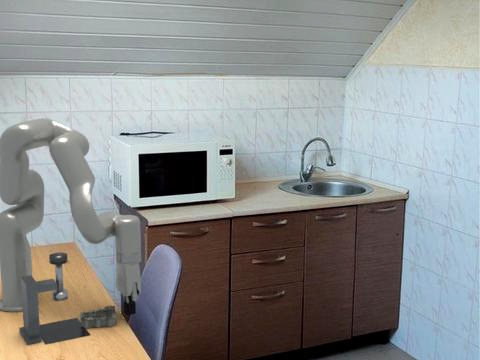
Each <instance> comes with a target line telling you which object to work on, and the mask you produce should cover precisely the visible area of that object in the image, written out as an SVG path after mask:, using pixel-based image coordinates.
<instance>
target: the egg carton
mask: <svg viewBox="0 0 480 360" xmlns="http://www.w3.org/2000/svg"><path fill="white" fill-rule="evenodd" d="M79 315H80V316H79V318H80V322H81V327H84V328H86V329H89V328H91V327H96V328H98V329H99V328H101V327H103V326H107V327H109V328H110V327H113V326H115V325H116V324H117V312H116V306H115V305H107V306H104V308H99V309H95V310H94V309H93V310H89V311H80V314H79Z"/></svg>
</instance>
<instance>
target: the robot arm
mask: <svg viewBox="0 0 480 360" xmlns="http://www.w3.org/2000/svg"><path fill="white" fill-rule="evenodd" d="M42 147H48V150H49V151H48V152H49V154H50V157H51V159H52V160H53V163H54V164H55V167H56V169H57V170H58V172H59V174H60V176H61V177H62V179H63V181H64V183H65V185H66V188H67V189H68V193H69V196H68V198H69V207H70V212H71V216H72V218H73V219H72V220H73V221H74V224H75V225H76V227H77V230H78V231H79V233H80V235H81V236H82V237H83V238H84V240H85V241H87V242H88V243H89V244H93V245H99V244H101V243H103V242H105V241H107V240H108V239H110V238H112V237H114V244H115V247H114V248H115V263H116V266H115V287H116V289H117V291H118V292H120V294H122V297H123V298H122V300H123V314H124V315H125V316H131V315H135V314H137V313H136V312H137V311H136V308H137V307H136V306H137V305H136V301H138V296H139V295H141V293H142V292H141V291H142V283H141V282H142V281H141V270H140V269H141V268H140V263H141V262H142V246H141V245H142V243H141V239H142V238H141V220H140V218H139V217H138V216H137V215H133V214H120V213H119V214H118V213H116V212H110V211H104V212H102V213H100V214H97V212H96V210H95V208H94V204H93V200H92V198H93V197H92V194H93V189H94V187H95V181H96V177H95V175H94V173H93V170H92V169H91V168H90V165H89V164H88V161H87V160H86V158H85V156H87V154H88V153H89V150H90V142H89V140H88V139H87V137H86V136H85V135H84V134H83V133H81V131H78V130H76V129H74V128H71V127H68V126H67V125H65V124H62V123H59V122H57V121H55V120H53V119H50V118H44V117H43V118H38V119H37V118H36V119H32V120H27V121H21V122H18V123H15V124H13V125H11V126H9V127H7V128H6V129H5V130H4V131H3V132H2V133H1V134H0V199H1V201H2V202H3V203H4V204H6V205H9V206H11V207H9V208H7V209H5V210H3V211H1V212H0V283H1V284H0V285H1V297H2V298H0V310H1V311H2V312H3V311H4V312H9V313H10V312H11V313H12V312H15V313H16V312H23V307H22V290H21V277H24V276H31V275H32V277H33V278H34V275H33V262H32V261H33V259H32V248H31V245H30V242H29V240H28V237H27V235H28V234H30V233H31V232H33V231H35V230H36V229H38V228H39V227H40V226H41V225H42V223H43V221H44V215H45V212H44V211H45V184H44V183H45V182H44V179H43V177H42V176H41V174H40V173H38V171H36V170H34V169H30V160H29V156H28V152H27V151H30V150H34V149H38V148H42ZM39 303H40V298H39V297H38V304H39Z"/></svg>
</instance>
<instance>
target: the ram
mask: <svg viewBox="0 0 480 360" xmlns="http://www.w3.org/2000/svg"><path fill="white" fill-rule="evenodd" d="M48 261H49V264H51V265H54V268H55V269H54V270H55V271H54V273H55V282H56V283H57V290H53V291H51V295H52V296H51V298H52V299H51V300H52V301H55V302H64V301H67V300H68V298H69V290H68V289H65V288H64V272H63V271H64V270H63V265H64V264H67V263H68V261H69V260H68V253H65V252H53V253H50V254H49V255H48Z"/></svg>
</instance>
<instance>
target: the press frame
mask: <svg viewBox="0 0 480 360" xmlns="http://www.w3.org/2000/svg"><path fill="white" fill-rule="evenodd" d="M32 276H33V274H32V275H31V276H24V277H21V290H22V307H23V311H22V320H23V321H22V322H23V326H22V327H19V328H18V331H19V333H20V336H21V337H22V340H23V341H24V342H25V345H26V346H30V345H34V344H39V343H42V342H43V344H44V345H50V344H56V343H60V342H66V341H71V340H75V339H79V338H85V337H89V336H91V333H90V332H89V331H88V330H87V328H84V327H81V320H79V317H73V318H69V319H64V320H58V321H53V322H47V323H42V324H40V310H39V309H40V308H39V307H40V306H39V303H38V298H39V294H41V293H47V292H52V291H54V290H57V283H56V279H54V278H51V279H49V278H48V279H43V280H38V281H36V279H35V278H34V276H33V277H32Z"/></svg>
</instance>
